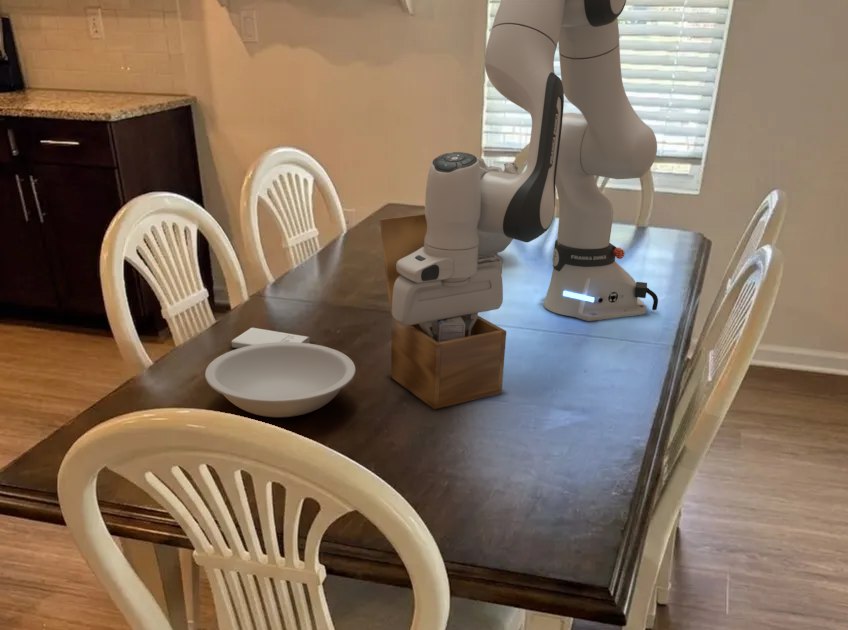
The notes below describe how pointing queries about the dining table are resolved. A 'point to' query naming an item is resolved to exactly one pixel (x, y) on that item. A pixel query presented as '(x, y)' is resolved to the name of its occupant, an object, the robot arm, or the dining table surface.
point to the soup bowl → (280, 377)
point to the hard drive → (265, 338)
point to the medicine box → (449, 328)
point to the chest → (448, 363)
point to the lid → (400, 243)
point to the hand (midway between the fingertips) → (447, 340)
